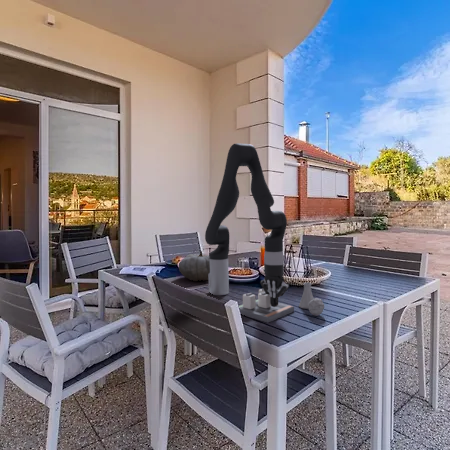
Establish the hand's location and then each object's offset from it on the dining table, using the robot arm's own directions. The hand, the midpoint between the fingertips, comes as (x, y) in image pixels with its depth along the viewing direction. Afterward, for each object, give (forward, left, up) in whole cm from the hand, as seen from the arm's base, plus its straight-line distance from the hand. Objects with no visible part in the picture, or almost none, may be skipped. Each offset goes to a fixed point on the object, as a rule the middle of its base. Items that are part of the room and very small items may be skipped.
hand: (274, 306), depth 126 cm
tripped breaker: (-5, 0, -1) cm, 5 cm away
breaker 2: (-9, +5, -1) cm, 10 cm away
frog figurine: (+12, +10, -4) cm, 16 cm away
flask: (+4, +17, -4) cm, 18 cm away
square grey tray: (-5, 0, -3) cm, 6 cm away
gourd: (-69, +20, -4) cm, 72 cm away
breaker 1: (-9, -5, -1) cm, 10 cm away
